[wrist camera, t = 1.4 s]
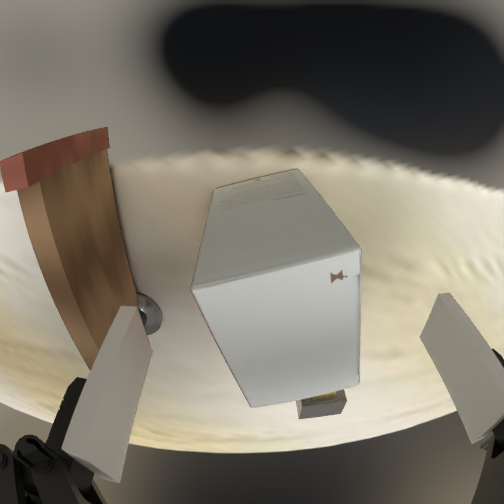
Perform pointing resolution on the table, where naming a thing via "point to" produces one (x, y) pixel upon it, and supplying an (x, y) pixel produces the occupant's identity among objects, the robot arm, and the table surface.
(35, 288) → the table surface
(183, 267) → the table surface
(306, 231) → the small box
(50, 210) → the gate
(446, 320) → the robot arm
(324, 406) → the latch post
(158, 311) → the pivot post
